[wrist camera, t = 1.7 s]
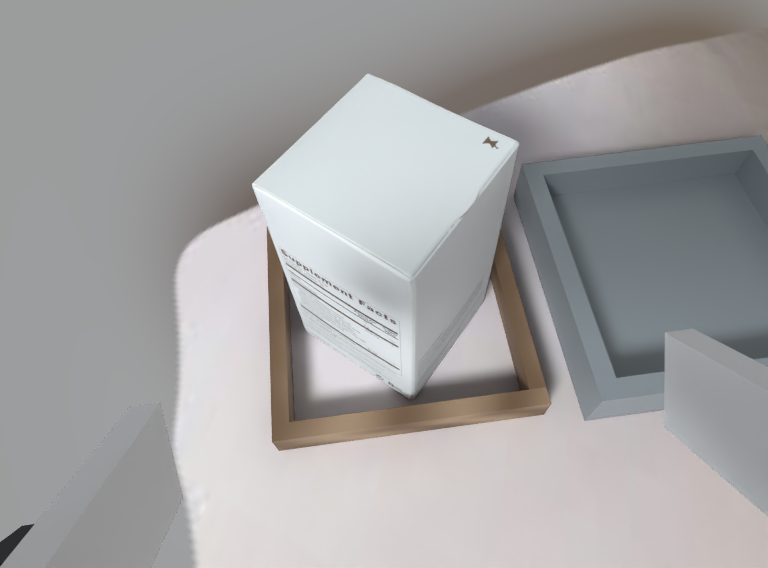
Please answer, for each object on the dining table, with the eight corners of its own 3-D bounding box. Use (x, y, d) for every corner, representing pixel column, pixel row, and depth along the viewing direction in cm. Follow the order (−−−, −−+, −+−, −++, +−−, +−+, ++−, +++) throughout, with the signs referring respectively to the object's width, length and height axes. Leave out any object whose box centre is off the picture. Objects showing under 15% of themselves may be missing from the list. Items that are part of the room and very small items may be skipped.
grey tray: (736, 169, 43) (761, 135, 40) (864, 382, 34) (908, 359, 31) (513, 196, 42) (521, 164, 39) (584, 420, 33) (602, 401, 30)
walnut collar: (485, 207, 42) (489, 189, 40) (543, 414, 34) (551, 403, 32) (272, 233, 41) (266, 216, 40) (279, 450, 33) (272, 441, 31)
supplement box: (380, 238, 41) (368, 64, 28) (487, 299, 38) (528, 137, 25) (299, 330, 37) (243, 180, 24) (411, 406, 34) (414, 280, 21)
